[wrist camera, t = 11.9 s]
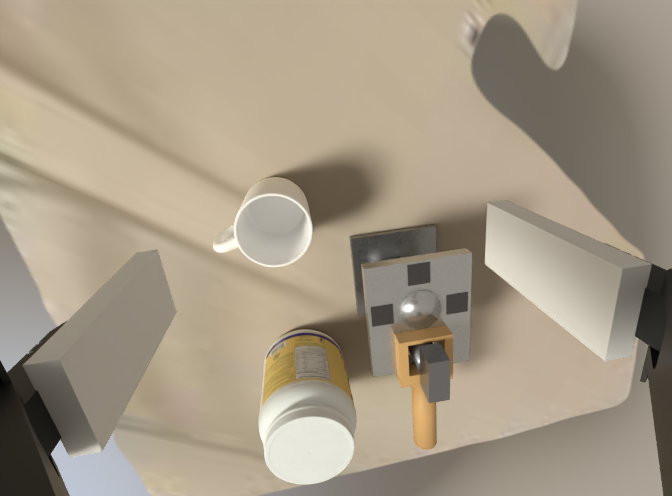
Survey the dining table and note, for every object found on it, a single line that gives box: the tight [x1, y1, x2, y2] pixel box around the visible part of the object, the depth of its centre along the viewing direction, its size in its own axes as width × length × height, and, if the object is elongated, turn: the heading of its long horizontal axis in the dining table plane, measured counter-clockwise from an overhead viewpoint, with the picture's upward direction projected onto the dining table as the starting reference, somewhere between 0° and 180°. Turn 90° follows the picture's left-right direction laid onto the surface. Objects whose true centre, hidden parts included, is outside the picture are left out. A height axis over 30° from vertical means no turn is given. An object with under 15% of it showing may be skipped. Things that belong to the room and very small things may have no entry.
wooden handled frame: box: [395, 325, 453, 450], centre depth 49 cm, size 17×6×5 cm, turn 6°
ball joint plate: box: [350, 224, 472, 377], centre depth 49 cm, size 15×12×12 cm
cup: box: [213, 177, 313, 267], centre depth 45 cm, size 8×12×10 cm
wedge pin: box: [408, 342, 451, 403], centre depth 48 cm, size 6×3×16 cm, turn 6°
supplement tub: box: [259, 329, 356, 484], centre depth 50 cm, size 12×12×17 cm
